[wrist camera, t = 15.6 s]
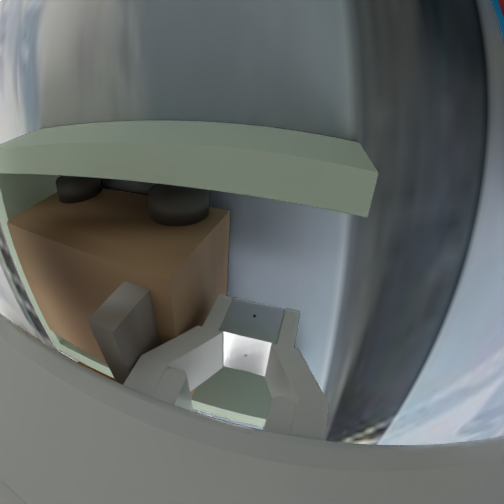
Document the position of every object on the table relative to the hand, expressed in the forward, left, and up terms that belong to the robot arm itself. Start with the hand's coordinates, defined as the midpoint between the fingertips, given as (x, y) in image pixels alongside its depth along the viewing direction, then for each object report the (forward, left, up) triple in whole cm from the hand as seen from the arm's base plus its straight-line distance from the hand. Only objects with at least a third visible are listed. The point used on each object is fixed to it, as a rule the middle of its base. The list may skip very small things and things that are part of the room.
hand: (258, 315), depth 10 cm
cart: (+5, +2, -2) cm, 6 cm away
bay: (+4, +2, -2) cm, 5 cm away
